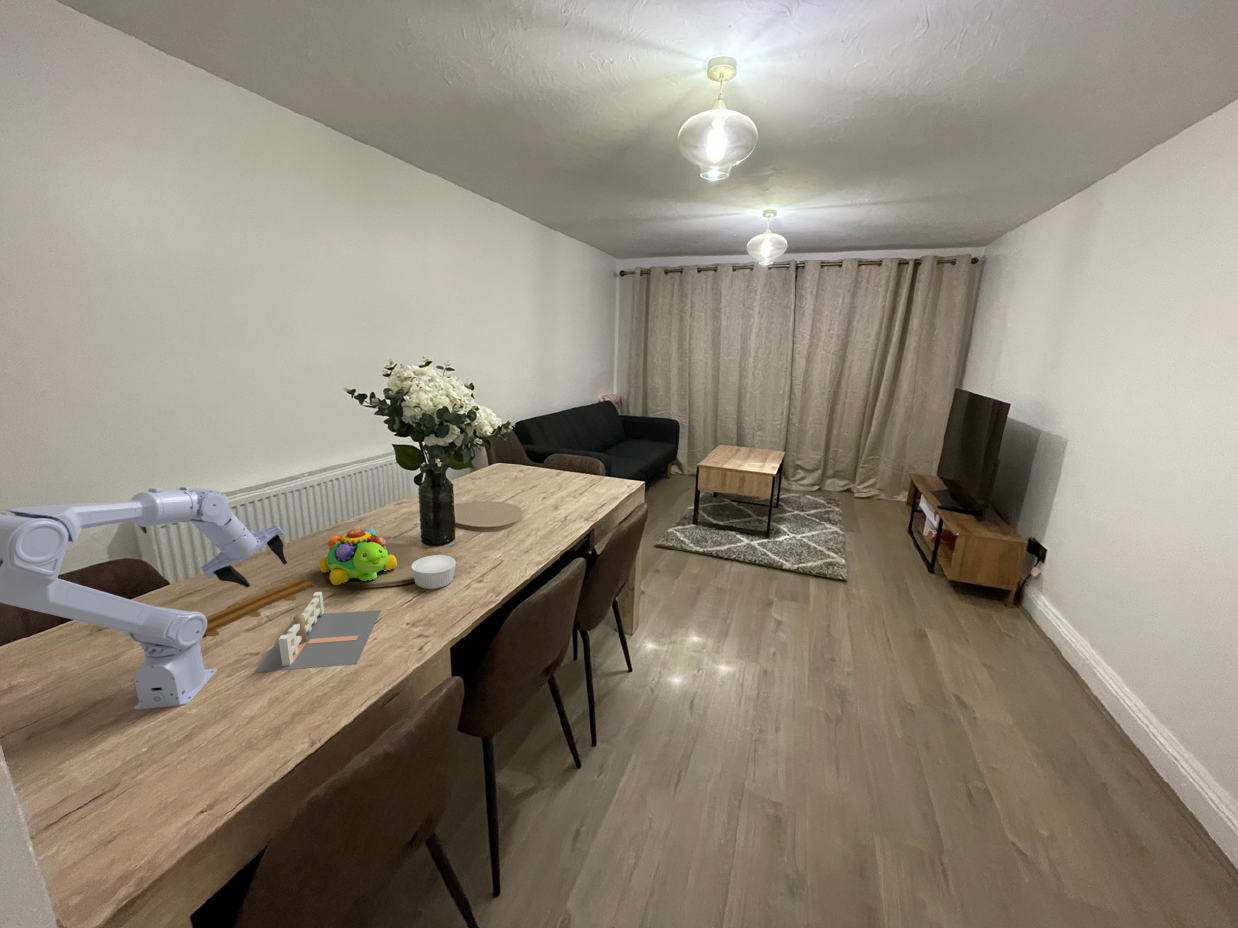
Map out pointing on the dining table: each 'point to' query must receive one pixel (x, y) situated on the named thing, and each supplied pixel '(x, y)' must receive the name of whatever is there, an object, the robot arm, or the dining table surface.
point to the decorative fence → (254, 605)
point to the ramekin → (433, 571)
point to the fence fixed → (292, 640)
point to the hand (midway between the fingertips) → (266, 572)
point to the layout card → (327, 642)
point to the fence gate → (313, 610)
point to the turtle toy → (356, 556)
